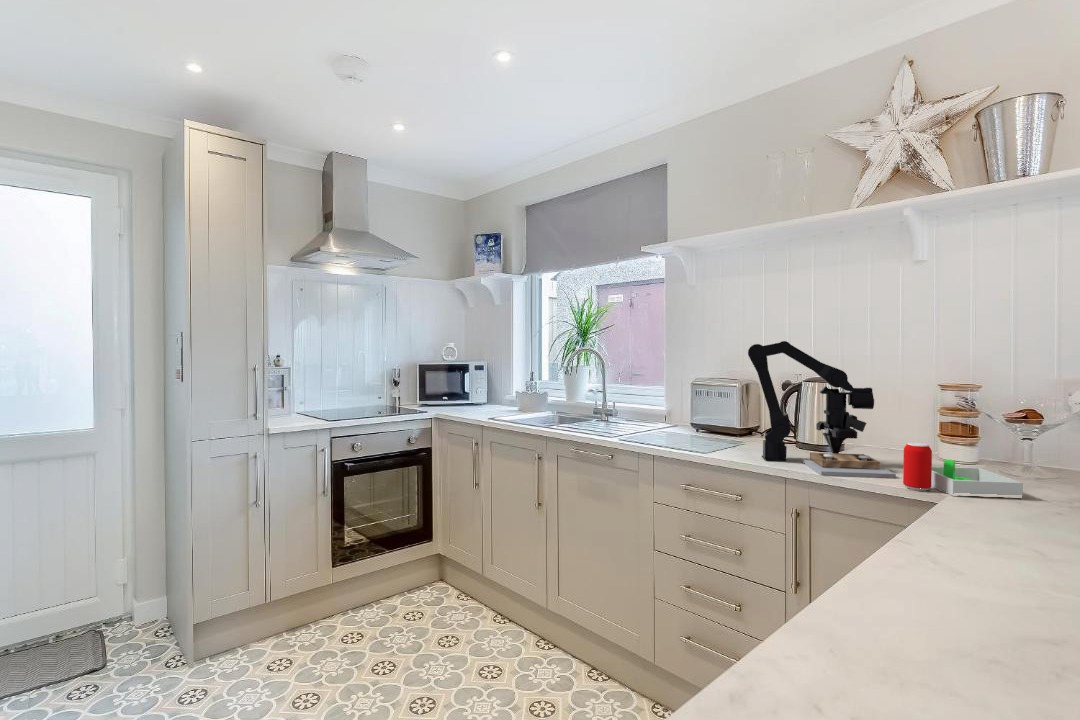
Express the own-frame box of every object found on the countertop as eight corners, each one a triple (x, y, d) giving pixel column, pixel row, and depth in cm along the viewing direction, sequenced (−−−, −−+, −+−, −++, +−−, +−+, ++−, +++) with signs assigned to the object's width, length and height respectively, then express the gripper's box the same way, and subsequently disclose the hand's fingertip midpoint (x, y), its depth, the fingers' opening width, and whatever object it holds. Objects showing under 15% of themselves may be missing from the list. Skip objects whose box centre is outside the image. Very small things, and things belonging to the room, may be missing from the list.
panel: (822, 466, 167) (822, 460, 167) (809, 458, 179) (809, 452, 179) (879, 468, 164) (880, 461, 164) (863, 460, 176) (863, 454, 176)
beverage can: (927, 493, 142) (928, 446, 142) (899, 488, 147) (900, 443, 147) (934, 489, 146) (935, 444, 146) (907, 484, 151) (907, 441, 151)
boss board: (821, 475, 162) (821, 460, 162) (802, 462, 180) (802, 449, 179) (895, 478, 158) (896, 462, 158) (869, 464, 176) (869, 450, 176)
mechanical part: (971, 495, 141) (972, 464, 141) (943, 491, 145) (943, 460, 145) (975, 486, 150) (975, 457, 150) (947, 482, 154) (948, 454, 154)
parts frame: (952, 496, 139) (953, 480, 139) (918, 480, 156) (918, 466, 156) (1022, 499, 137) (1022, 483, 137) (979, 482, 154) (980, 468, 154)
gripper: (876, 411, 167) (875, 463, 168) (851, 405, 186) (850, 451, 186) (836, 411, 169) (836, 461, 169) (816, 404, 187) (815, 450, 188)
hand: (835, 456), depth 178 cm, fingers closed
